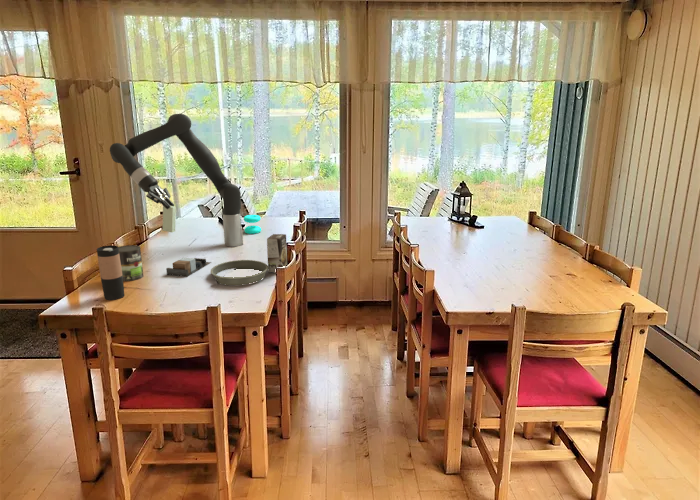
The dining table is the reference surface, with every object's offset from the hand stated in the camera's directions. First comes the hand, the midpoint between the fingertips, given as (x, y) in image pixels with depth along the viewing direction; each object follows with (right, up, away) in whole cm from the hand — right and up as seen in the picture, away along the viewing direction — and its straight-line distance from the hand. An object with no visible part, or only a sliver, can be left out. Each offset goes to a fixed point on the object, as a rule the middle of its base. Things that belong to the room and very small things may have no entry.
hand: (170, 207), depth 219 cm
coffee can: (-13, -33, -12) cm, 37 cm away
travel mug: (-10, -38, -32) cm, 51 cm away
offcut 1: (+8, -30, -7) cm, 32 cm away
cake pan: (+34, -32, -9) cm, 48 cm away
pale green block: (-2, -11, +4) cm, 12 cm away
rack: (+9, -29, -1) cm, 31 cm away
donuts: (+24, -9, +68) cm, 72 cm away
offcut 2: (+9, -29, -3) cm, 30 cm away
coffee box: (+49, -29, 0) cm, 57 cm away
